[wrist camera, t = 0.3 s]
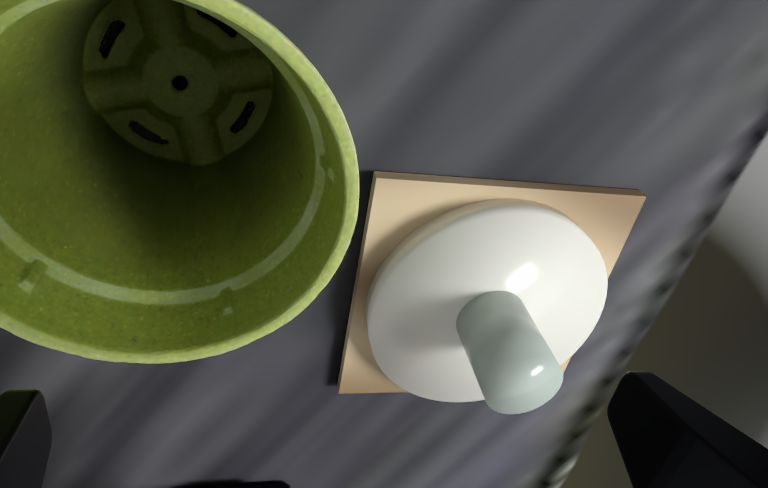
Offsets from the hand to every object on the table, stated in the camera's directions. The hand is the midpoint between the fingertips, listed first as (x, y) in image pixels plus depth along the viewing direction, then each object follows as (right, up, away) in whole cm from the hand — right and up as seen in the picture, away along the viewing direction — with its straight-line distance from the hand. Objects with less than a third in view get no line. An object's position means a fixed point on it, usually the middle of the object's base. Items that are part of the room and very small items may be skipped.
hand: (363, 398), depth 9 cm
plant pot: (-6, +8, +10) cm, 15 cm away
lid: (+5, 0, +18) cm, 18 cm away
